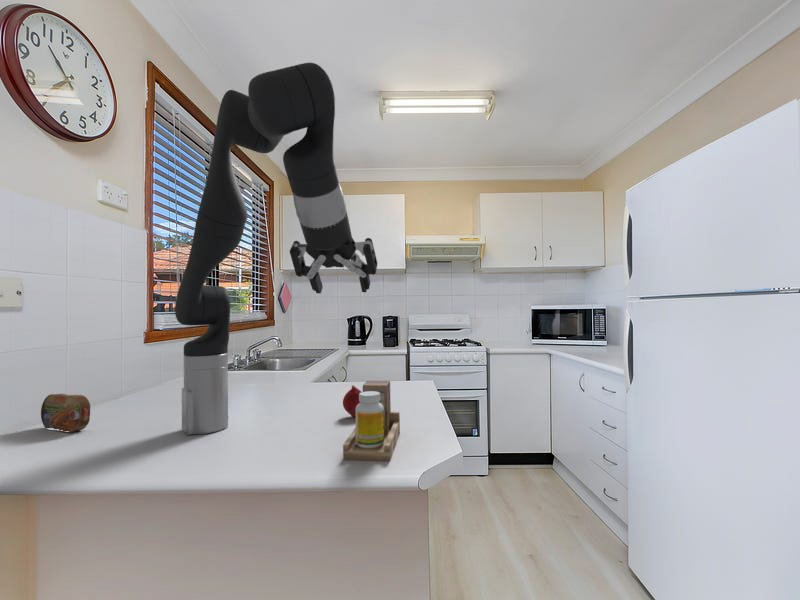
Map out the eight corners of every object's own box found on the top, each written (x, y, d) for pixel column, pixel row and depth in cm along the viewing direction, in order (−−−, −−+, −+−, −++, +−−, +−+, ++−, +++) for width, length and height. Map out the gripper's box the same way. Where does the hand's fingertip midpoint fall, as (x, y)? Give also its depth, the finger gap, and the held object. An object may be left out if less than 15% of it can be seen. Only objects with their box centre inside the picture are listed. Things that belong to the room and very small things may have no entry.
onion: (368, 414, 101) (367, 383, 101) (363, 420, 95) (363, 387, 95) (346, 413, 101) (345, 383, 102) (340, 420, 96) (340, 387, 96)
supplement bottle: (352, 442, 75) (351, 392, 75) (377, 437, 77) (377, 389, 77) (361, 451, 70) (360, 397, 70) (388, 446, 72) (388, 394, 73)
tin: (39, 428, 93) (39, 393, 93) (54, 425, 96) (55, 390, 96) (78, 435, 88) (78, 397, 88) (93, 431, 90) (93, 394, 91)
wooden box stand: (390, 460, 69) (388, 395, 70) (343, 459, 70) (342, 395, 71) (399, 432, 85) (398, 379, 85) (361, 431, 86) (360, 379, 86)
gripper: (370, 198, 63) (382, 275, 74) (285, 202, 64) (309, 277, 75) (364, 224, 57) (378, 303, 68) (271, 228, 59) (299, 304, 70)
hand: (342, 289), depth 72 cm, fingers open, 8 cm apart
